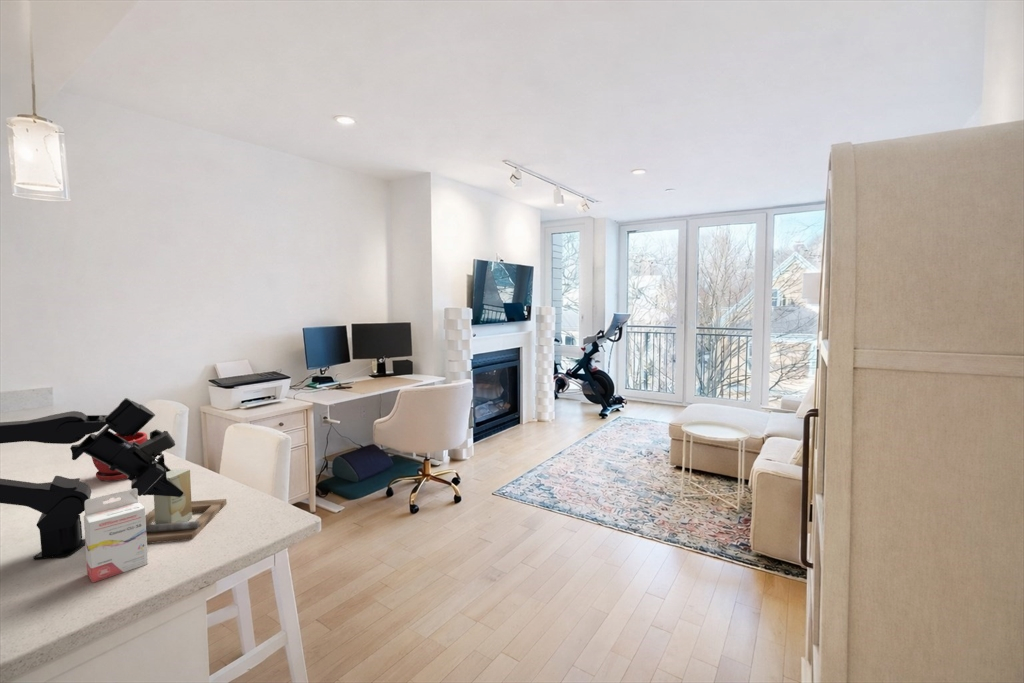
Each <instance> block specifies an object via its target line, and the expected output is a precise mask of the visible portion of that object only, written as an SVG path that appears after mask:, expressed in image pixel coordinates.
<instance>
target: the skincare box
mask: <svg viewBox="0 0 1024 683" xmlns="http://www.w3.org/2000/svg"><path fill="white" fill-rule="evenodd" d="M170 470H171V471H168V472H166V477H167V479H169V480H170V481H171V482H172V483H173V484H175V485H176V486H177V487H178V488H179V489H181V490H182V491H183V492H184V494H183V495H182V496H181V497H174V496H160V495H153V502H154V503H153V504H154V505H153V506H154V507H153V509H154V510H155V521H154V524H166V523H179V522H189V521H190V520H191V519H192V518H193V513H192V504H191V501H192V490H191V489H192V487H191V486H192V484H191V483H192V482H191V469H186V468H185V469H184V468H183V469H182V468H174V469H170Z"/></svg>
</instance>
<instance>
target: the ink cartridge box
mask: <svg viewBox="0 0 1024 683" xmlns="http://www.w3.org/2000/svg"><path fill="white" fill-rule="evenodd" d="M112 498H113V499H119V498H121V499H120V500H115V501H112V502H111V501H110V502H108V503H104V502H106V501H109V500H111V499H112ZM84 505H85V511H84V516H83V525H84V539H85V545H84V546H85V558H86V559H85V560H86V562H85V563H86V574H87V575H88V578H89V579H90V581H91V583H96V582H98V581H99V582H100V581H102V580H105V579H108V578H111V577H114V576H116V575H119V574H120V575H121V574H122V573H126V572H128V571H129V572H130V571H131V570H134V569H138V568H140V567H143V566H146V565H148V564H149V561H148V560H149V559H148V556H149V555H148V543H147V535H146V518H145V515H146V508H145V506H144V505H143V504H142V503H141V502H139V497H138V490H137V489H136V488H134V489H130V488H129V489H127V490H122V491H117V492H114V493H113V492H112V493H108V494H105V495H100V496H95V497H90V499H87V500H85V502H84Z"/></svg>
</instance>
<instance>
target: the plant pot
mask: <svg viewBox="0 0 1024 683" xmlns="http://www.w3.org/2000/svg"><path fill="white" fill-rule="evenodd" d="M114 434H116V435H117V436H119V437H121V438H122V439H124V440H126V441H128V442H129V443H131V442H133V443H134V442H136V443H138V444H142V443H144V442H146V440H148V434H147V433H146V432H143V431H138V432H137V433H136V434H135V435H134V436H133V435H129V436H126V437H123V436H121V435H119V434H117V433H116V432H115V433H114ZM91 460H92V462H93V465H94V467H95V468H96V469H97V472H96V473H95V477H96V478H97V479H99V480H100V481H105V482H106V481H108V482H110V481H113V482H115V481H121V480H126V479H127V476H126V475H125V474H123V473H121V472H119V471H117V470H114V471H112V470H110V469H109V466H108V465H106V464H104V463H102V462H101V461H99V460H97V459H95V458H93V457H91Z"/></svg>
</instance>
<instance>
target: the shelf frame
mask: <svg viewBox="0 0 1024 683" xmlns="http://www.w3.org/2000/svg"><path fill="white" fill-rule="evenodd" d="M227 503H228V502H227V498H219V499H207V500H191V504H192V514H193V513H202V514H201V515H199V517H198V518H196V520H193V521H186V522H179V523H166V524H155V510H154V508H153V509H152V510H151V511H149V512H148V513H146V514H145V518H146V535H147V544H152V542H154V543H165V542H164V541H166V542H175V541H176V542H177V541H187V540H193V539H194V538H195V537H196V536H197V535H198V534H199V533H200V532H201V531H202V530H203V529H204V528H206V526H207V525H208V524H209V523H210V522H211V521H212V520H213V519H214V518H215V517H216V516H217V515H218V514H219V513H220V512H221V511H222V510H221V509H222V508H223V507H224V506H225V505H226V504H227ZM227 505H228V504H227ZM225 507H226V506H225ZM225 507H224V508H225ZM224 508H223V509H224ZM220 510H221V511H220ZM219 511H220V512H219ZM217 513H218V514H217ZM216 514H217V515H216ZM215 515H216V516H215ZM152 522H153V523H154V524H153V523H152ZM151 523H152V524H151ZM150 524H151V525H150Z"/></svg>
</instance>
